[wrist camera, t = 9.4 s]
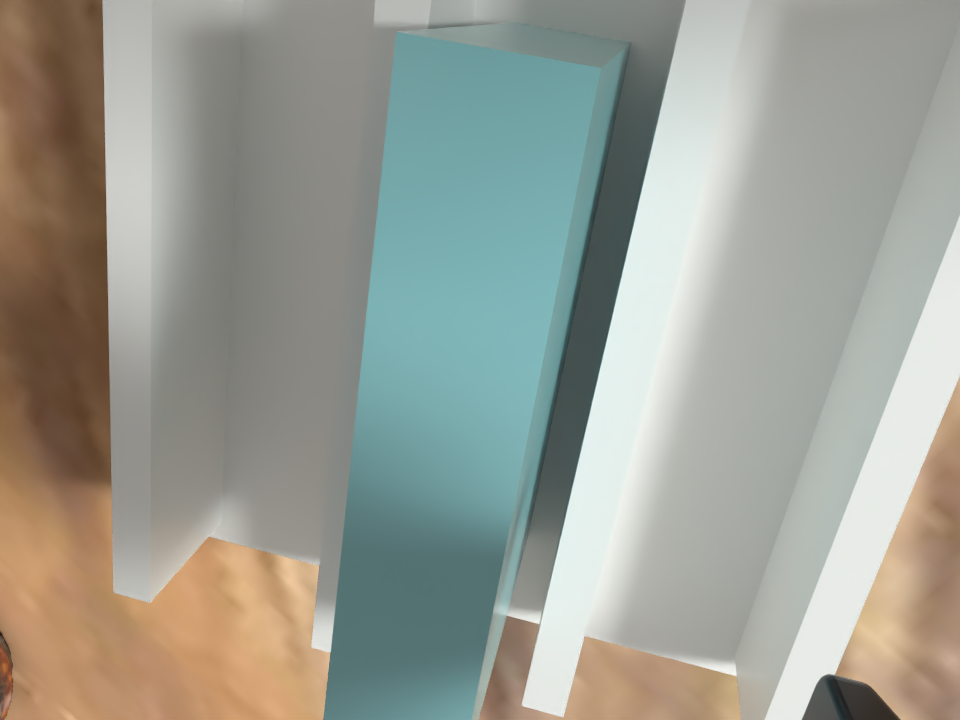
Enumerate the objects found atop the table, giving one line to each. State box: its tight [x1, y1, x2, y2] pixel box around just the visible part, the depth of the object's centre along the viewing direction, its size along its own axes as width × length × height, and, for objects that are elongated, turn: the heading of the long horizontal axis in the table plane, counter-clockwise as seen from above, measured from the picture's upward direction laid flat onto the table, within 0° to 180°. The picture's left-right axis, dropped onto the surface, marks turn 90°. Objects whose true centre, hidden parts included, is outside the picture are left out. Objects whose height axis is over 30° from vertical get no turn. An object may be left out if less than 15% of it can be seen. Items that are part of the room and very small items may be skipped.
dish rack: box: [103, 0, 960, 720], centre depth 16 cm, size 14×14×4 cm
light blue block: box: [323, 22, 632, 720], centre depth 13 cm, size 2×10×7 cm, turn 171°
